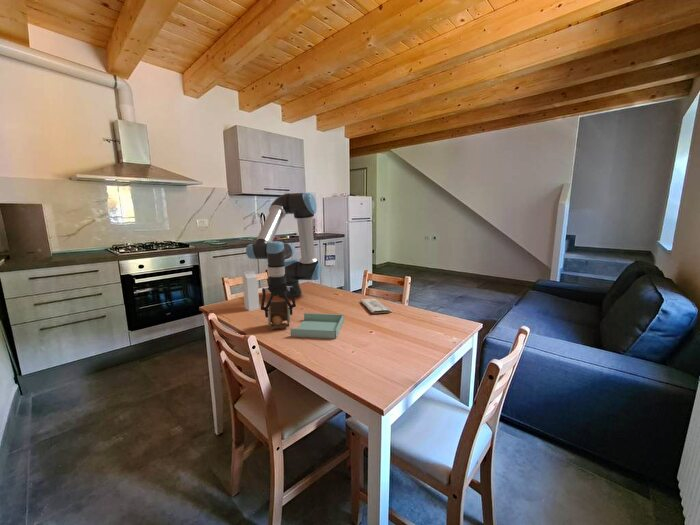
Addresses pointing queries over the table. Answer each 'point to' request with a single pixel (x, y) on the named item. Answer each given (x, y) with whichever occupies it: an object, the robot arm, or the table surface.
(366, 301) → the newspaper
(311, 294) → the table surface
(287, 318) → the sleeve
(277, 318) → the ball
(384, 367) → the table surface
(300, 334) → the tray
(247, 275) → the milk
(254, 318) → the table surface
